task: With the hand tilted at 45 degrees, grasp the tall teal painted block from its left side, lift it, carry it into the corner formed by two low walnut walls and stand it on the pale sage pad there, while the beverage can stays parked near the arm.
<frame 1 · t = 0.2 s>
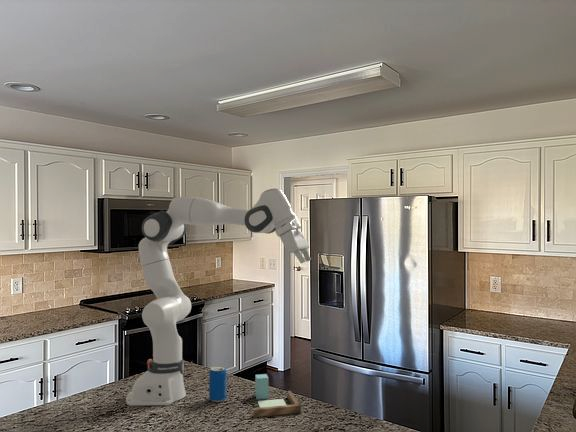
hand: (306, 261, 163), 54 cm above the countertop, tool tilted 30°, fingers open, 8 cm apart
teal block: (261, 396, 176), on the countertop
corner walls: (300, 412, 161), on the countertop
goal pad: (272, 405, 167), on the countertop
beverage can: (217, 400, 173), on the countertop
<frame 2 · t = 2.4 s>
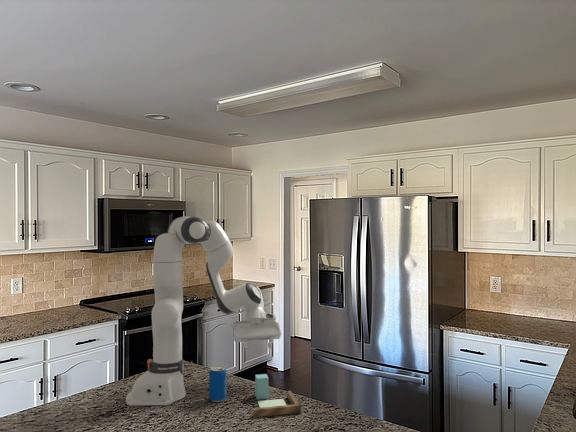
hand: (258, 348, 188), 16 cm above the countertop, tool tilted 45°, fingers open, 8 cm apart
nothing on the countertop moved.
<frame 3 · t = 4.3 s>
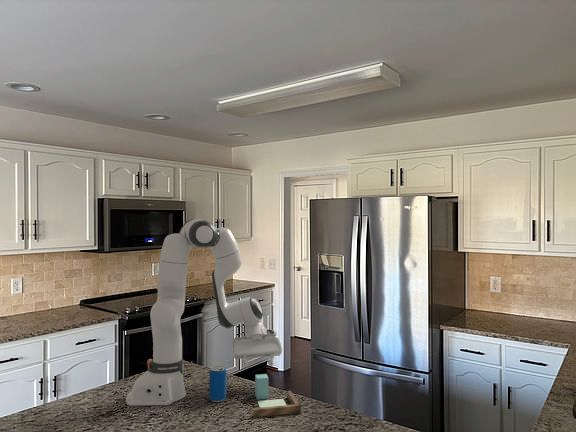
hand: (259, 366, 182), 10 cm above the countertop, tool tilted 45°, fingers open, 8 cm apart
nothing on the countertop moved.
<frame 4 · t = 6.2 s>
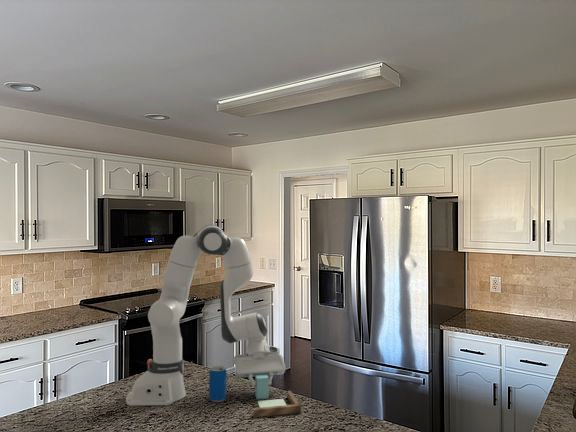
hand: (262, 385, 175), 5 cm above the countertop, tool tilted 45°, fingers closed on teal block, 4 cm apart
teal block: (261, 396, 176), on the countertop, touching gripper
everything else where it was.
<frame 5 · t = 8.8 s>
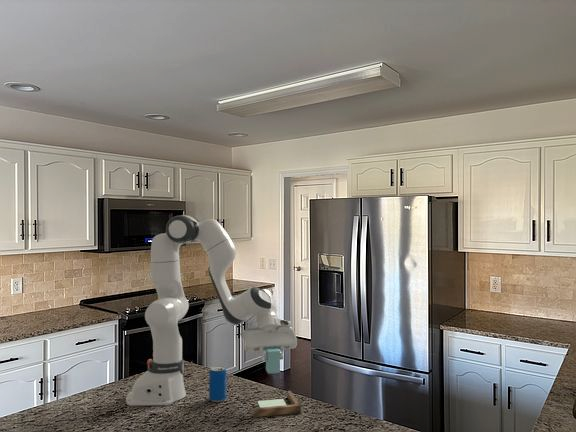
hand: (273, 359, 167), 17 cm above the countertop, tool tilted 45°, fingers closed on teal block, 4 cm apart
teal block: (272, 371, 168), point 13 cm above the countertop, touching gripper
everything else where it was.
when the fingers open (6 cm above the countertop, at t = 11.2 s): teal block drops 1 cm, resting on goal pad.
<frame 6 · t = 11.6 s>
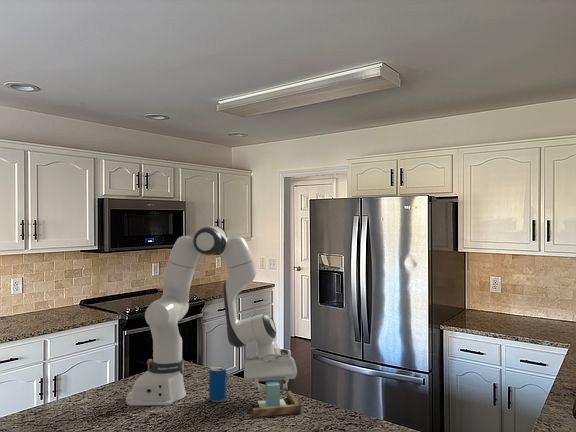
hand: (273, 390, 167), 6 cm above the countertop, tool tilted 45°, fingers open, 8 cm apart
teal block: (272, 404, 167), resting on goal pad
everything else where it was.
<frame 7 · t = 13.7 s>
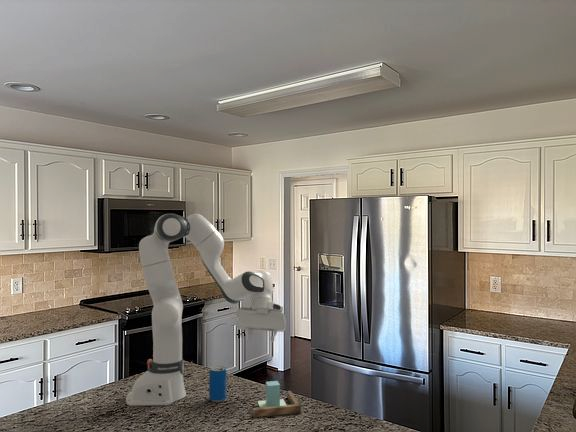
hand: (260, 340, 181), 21 cm above the countertop, tool tilted 35°, fingers open, 8 cm apart
nothing on the countertop moved.
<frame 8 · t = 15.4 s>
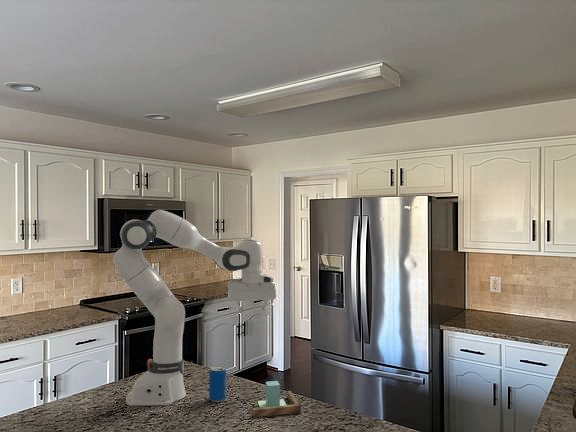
hand: (252, 311, 189), 31 cm above the countertop, tool pointing down, fingers open, 8 cm apart
nothing on the countertop moved.
at the end: teal block inside the target area (0.0 cm from its centre), resting on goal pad; teal block tilted 0°; the gripper is holding nothing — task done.
